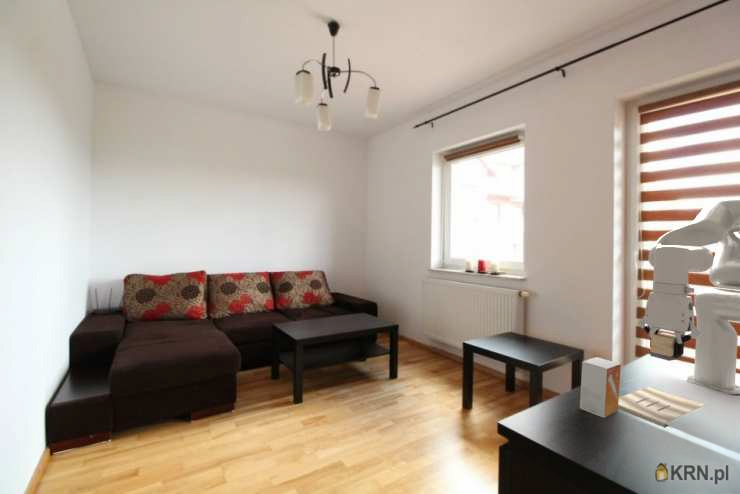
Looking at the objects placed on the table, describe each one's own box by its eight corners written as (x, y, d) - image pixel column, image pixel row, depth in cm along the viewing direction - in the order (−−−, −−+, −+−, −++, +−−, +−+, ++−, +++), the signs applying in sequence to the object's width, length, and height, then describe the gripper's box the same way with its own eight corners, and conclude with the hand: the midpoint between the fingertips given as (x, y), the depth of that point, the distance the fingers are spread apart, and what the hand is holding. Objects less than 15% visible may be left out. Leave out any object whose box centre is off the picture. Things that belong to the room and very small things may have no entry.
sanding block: (662, 352, 104) (663, 332, 104) (681, 357, 100) (682, 336, 100) (650, 355, 101) (651, 334, 101) (669, 360, 97) (670, 339, 97)
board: (649, 390, 110) (649, 386, 110) (704, 408, 99) (704, 404, 99) (608, 405, 99) (608, 400, 99) (664, 427, 88) (664, 422, 88)
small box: (604, 419, 91) (607, 368, 91) (579, 408, 97) (581, 361, 96) (619, 411, 96) (621, 363, 95) (593, 401, 101) (595, 356, 101)
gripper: (715, 293, 94) (711, 361, 95) (642, 285, 109) (638, 344, 110) (703, 294, 91) (698, 365, 91) (629, 285, 106) (625, 347, 106)
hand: (666, 353), depth 100 cm, fingers closed on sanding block, 4 cm apart
